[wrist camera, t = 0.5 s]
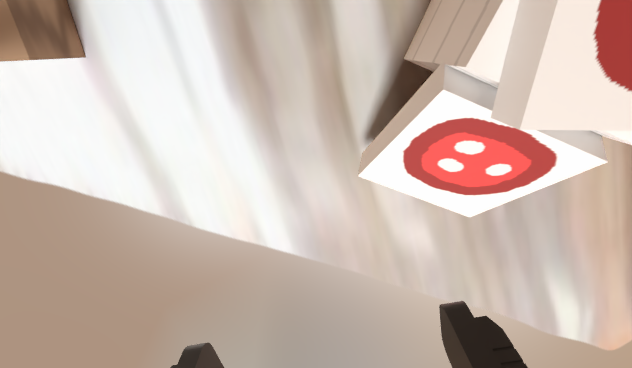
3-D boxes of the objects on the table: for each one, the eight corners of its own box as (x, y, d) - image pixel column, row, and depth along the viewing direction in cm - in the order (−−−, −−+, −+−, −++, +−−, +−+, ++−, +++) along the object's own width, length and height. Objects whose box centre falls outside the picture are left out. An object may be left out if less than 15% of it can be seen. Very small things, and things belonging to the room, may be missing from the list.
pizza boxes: (339, 158, 38) (359, 246, 21) (478, -149, 26) (755, -479, 10) (471, 208, 41) (578, 318, 24) (647, -49, 29) (1079, -171, 13)
